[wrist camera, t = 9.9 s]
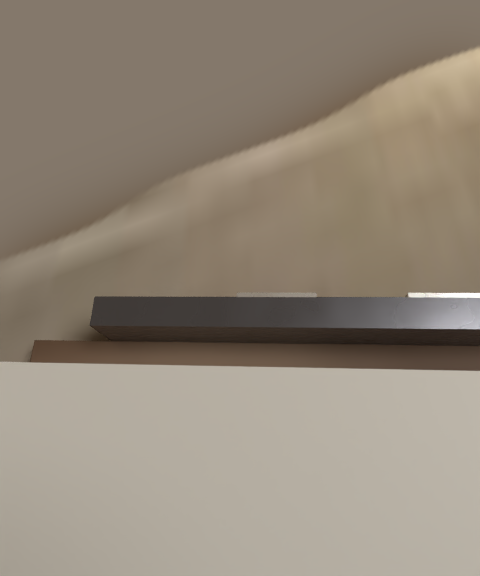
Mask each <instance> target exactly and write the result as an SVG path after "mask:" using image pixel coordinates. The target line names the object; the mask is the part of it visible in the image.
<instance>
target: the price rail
mask: <svg viewBox="0 0 480 576" xmlns="http://www.w3.org/2000/svg"><path fill="white" fill-rule="evenodd" d="M90 326H91V327H93V328H94V329H95V330H97V331H98V332H100V333H101V334H103V335H104V336H106V337H107V338H108V339H110V340H111V341H128V342H204V343H281V344H358V345H435V346H480V293H408V294H407V295H406V296H405V297H316V293H237V297H95V298H94V304H93V310H92V316H91V321H90Z"/></svg>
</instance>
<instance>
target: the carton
mask: <svg viewBox="0 0 480 576" xmlns="http://www.w3.org/2000/svg"><path fill="white" fill-rule="evenodd" d="M0 576H480V371H456V370H403V369H349V368H297V367H244V366H190V365H137V364H84V363H31V362H0Z"/></svg>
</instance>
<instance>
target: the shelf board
mask: <svg viewBox="0 0 480 576" xmlns="http://www.w3.org/2000/svg"><path fill="white" fill-rule="evenodd" d="M30 362H31V363H84V364H137V365H190V366H244V367H297V368H349V369H403V370H456V371H480V346H435V345H358V344H281V343H204V342H128V341H51V340H35V341H34V346H33V350H32V355H31V360H30Z"/></svg>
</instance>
